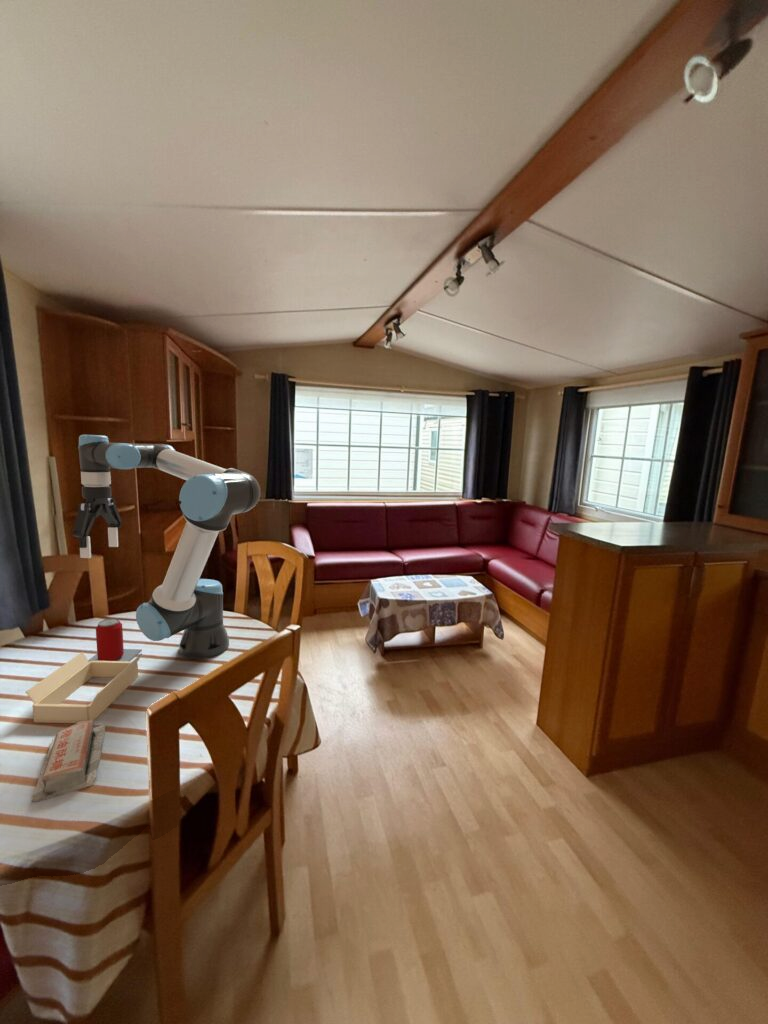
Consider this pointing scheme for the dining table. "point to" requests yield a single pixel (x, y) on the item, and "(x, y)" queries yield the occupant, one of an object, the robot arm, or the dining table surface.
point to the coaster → (127, 655)
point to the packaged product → (71, 760)
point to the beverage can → (109, 640)
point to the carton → (70, 679)
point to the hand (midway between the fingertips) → (100, 552)
